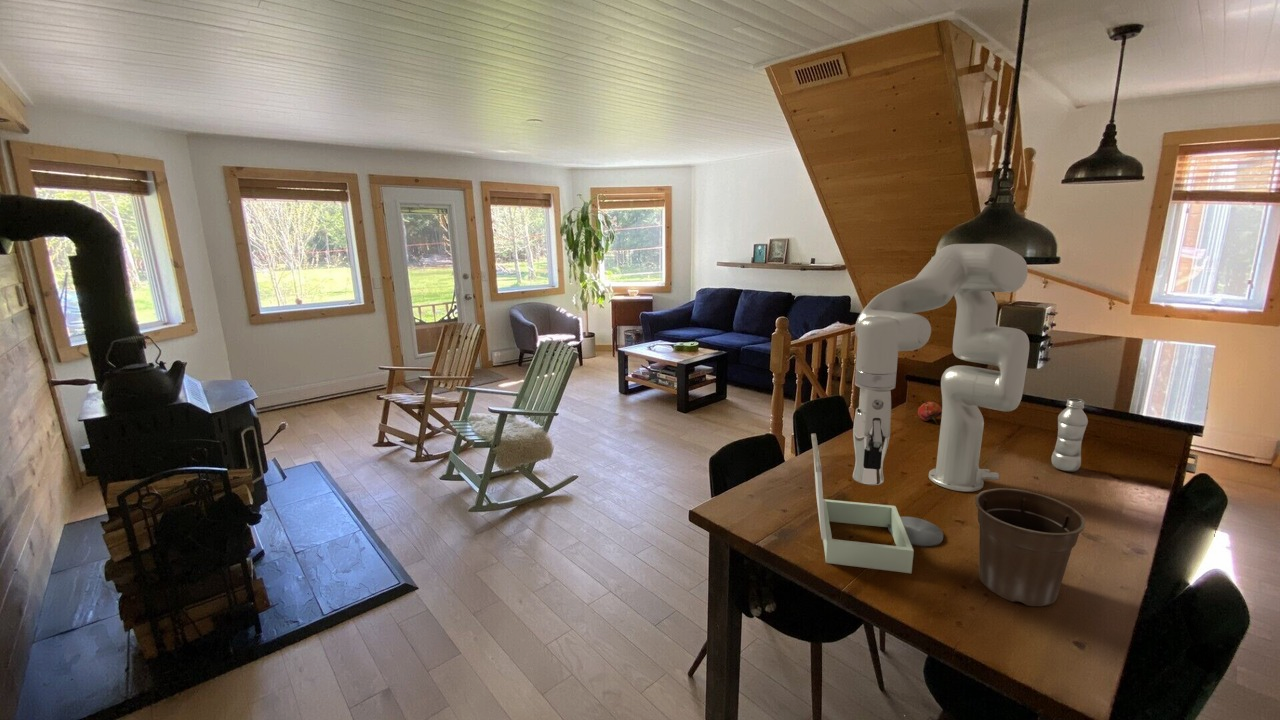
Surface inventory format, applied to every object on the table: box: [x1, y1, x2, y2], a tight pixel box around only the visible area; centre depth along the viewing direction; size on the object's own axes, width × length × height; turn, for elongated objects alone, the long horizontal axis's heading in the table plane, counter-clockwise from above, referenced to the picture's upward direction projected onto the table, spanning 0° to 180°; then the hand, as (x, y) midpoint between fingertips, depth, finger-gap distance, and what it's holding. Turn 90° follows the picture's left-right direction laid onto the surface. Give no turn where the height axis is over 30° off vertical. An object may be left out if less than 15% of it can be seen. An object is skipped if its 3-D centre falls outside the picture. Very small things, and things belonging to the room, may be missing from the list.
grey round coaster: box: [887, 516, 944, 547], centre depth 119 cm, size 11×11×1 cm
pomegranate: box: [917, 400, 942, 425], centre depth 186 cm, size 7×7×10 cm
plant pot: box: [974, 488, 1086, 607], centre depth 98 cm, size 16×16×16 cm
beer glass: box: [852, 407, 890, 486], centre depth 110 cm, size 7×7×15 cm
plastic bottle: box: [1051, 397, 1089, 472], centre depth 145 cm, size 6×7×20 cm
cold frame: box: [822, 498, 915, 574], centre depth 115 cm, size 16×18×5 cm
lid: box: [810, 433, 826, 541], centre depth 115 cm, size 16×18×1 cm
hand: (869, 460), depth 111 cm, fingers closed on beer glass, 6 cm apart
